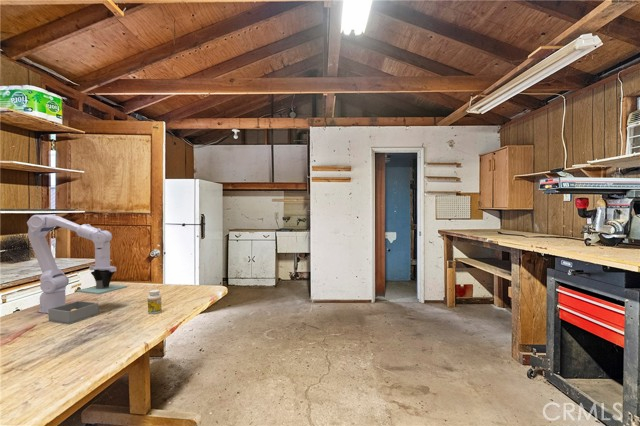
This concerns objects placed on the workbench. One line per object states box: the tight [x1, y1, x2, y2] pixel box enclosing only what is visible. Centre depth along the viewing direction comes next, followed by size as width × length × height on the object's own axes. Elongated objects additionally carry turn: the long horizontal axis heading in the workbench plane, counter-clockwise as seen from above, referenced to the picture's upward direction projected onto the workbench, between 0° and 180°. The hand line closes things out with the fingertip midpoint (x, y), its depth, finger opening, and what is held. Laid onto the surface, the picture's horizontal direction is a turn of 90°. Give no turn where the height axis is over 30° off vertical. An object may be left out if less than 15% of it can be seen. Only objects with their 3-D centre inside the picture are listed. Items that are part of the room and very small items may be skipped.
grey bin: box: [47, 300, 99, 325], centre depth 132 cm, size 12×12×5 cm
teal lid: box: [76, 279, 128, 295], centre depth 144 cm, size 14×14×4 cm
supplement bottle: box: [147, 289, 162, 315], centre depth 139 cm, size 5×5×10 cm
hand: (103, 286), depth 144 cm, fingers closed on teal lid, 3 cm apart
